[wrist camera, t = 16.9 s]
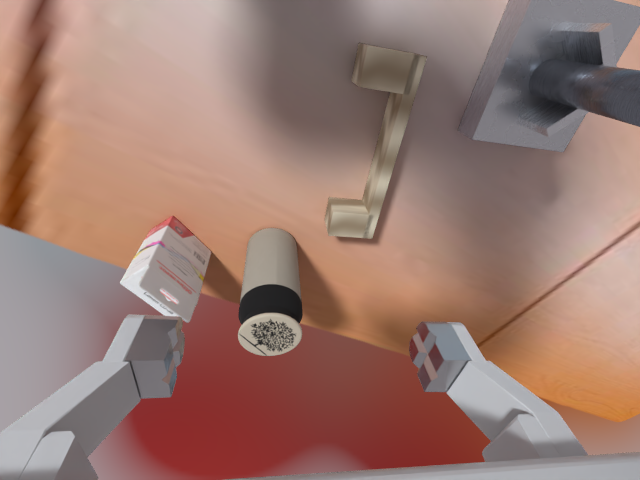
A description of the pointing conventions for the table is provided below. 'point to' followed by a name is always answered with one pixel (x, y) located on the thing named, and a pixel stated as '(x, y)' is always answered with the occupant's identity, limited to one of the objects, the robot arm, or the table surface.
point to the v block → (530, 51)
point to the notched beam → (402, 82)
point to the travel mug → (270, 294)
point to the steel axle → (590, 88)
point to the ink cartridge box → (169, 269)
